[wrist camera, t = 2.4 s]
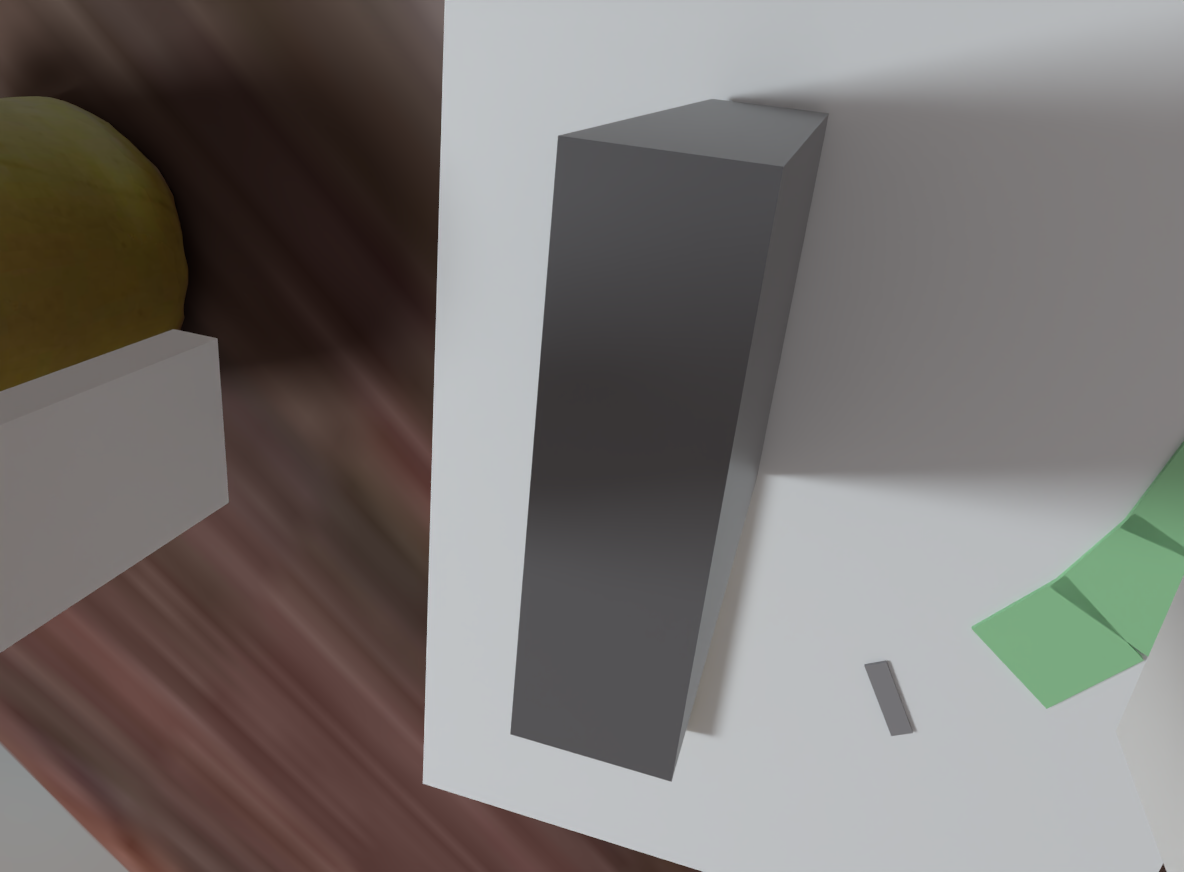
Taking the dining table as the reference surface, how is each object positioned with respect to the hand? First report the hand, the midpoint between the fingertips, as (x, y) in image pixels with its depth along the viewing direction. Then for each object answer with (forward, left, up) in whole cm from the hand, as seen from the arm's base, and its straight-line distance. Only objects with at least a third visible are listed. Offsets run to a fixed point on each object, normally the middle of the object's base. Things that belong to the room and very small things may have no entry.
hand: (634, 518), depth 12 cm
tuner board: (+5, +3, -12) cm, 13 cm away
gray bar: (+4, 0, -11) cm, 12 cm away
